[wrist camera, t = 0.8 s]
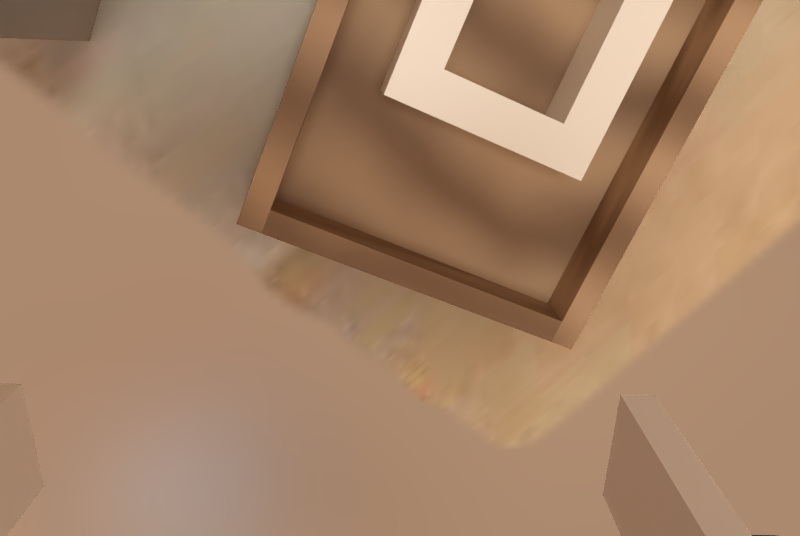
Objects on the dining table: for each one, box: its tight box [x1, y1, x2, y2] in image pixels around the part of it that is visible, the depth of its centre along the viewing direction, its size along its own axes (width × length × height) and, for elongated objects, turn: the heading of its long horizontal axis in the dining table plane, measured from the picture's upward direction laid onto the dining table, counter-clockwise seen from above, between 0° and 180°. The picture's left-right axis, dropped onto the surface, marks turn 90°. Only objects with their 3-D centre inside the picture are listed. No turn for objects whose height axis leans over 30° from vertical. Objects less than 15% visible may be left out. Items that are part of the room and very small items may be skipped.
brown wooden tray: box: [237, 0, 763, 349], centre depth 30 cm, size 26×18×4 cm
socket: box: [380, 0, 673, 181], centre depth 29 cm, size 10×10×3 cm
